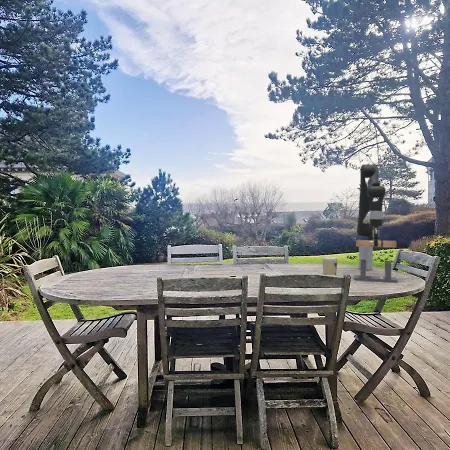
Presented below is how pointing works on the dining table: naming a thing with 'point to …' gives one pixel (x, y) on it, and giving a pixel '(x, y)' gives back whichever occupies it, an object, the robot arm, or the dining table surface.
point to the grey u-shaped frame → (376, 278)
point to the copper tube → (371, 243)
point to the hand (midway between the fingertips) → (375, 246)
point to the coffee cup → (329, 265)
